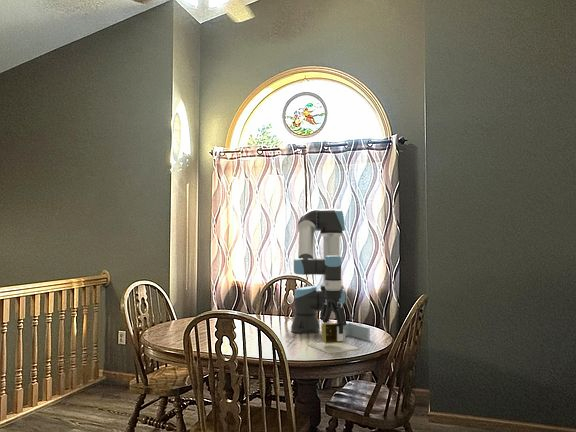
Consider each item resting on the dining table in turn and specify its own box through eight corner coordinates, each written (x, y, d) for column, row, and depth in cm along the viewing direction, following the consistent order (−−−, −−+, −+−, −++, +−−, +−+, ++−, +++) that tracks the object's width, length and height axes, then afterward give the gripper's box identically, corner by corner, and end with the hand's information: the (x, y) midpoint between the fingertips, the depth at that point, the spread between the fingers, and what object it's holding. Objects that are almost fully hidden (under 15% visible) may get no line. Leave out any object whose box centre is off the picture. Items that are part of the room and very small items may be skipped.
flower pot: (317, 341, 241) (325, 344, 232) (317, 322, 242) (324, 323, 233) (335, 340, 244) (343, 342, 235) (335, 321, 245) (343, 322, 236)
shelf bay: (324, 337, 260) (324, 325, 260) (350, 334, 268) (350, 322, 268) (343, 343, 246) (343, 330, 246) (369, 340, 254) (369, 328, 254)
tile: (307, 345, 243) (307, 344, 243) (336, 341, 250) (336, 340, 250) (329, 353, 227) (329, 352, 227) (359, 349, 235) (359, 348, 235)
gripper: (313, 287, 248) (313, 335, 247) (340, 292, 228) (340, 344, 227) (326, 286, 251) (326, 333, 251) (354, 291, 231) (354, 342, 231)
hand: (333, 338), depth 239 cm, fingers closed on flower pot, 10 cm apart
